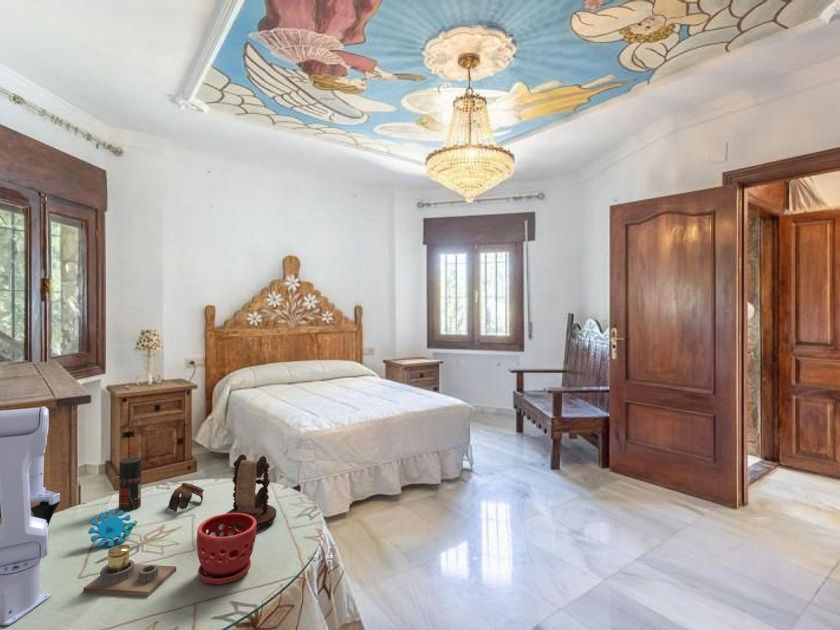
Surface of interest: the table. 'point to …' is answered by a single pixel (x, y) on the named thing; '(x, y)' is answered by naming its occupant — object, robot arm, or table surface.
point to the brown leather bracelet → (184, 496)
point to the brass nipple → (118, 558)
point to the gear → (111, 528)
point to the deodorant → (130, 484)
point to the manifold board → (131, 580)
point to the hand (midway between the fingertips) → (26, 532)
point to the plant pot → (225, 547)
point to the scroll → (252, 491)
